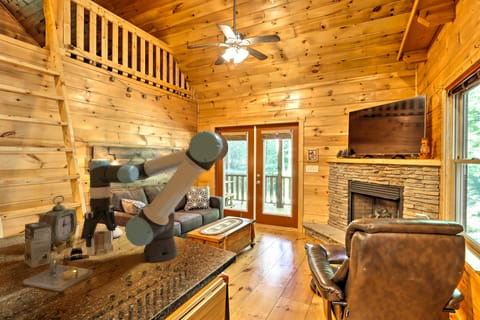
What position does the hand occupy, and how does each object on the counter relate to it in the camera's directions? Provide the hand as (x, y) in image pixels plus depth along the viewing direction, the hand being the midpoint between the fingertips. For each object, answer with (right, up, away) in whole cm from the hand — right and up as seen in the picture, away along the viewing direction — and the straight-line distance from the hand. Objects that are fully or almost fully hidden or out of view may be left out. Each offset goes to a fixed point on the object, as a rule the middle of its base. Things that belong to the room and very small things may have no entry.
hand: (100, 249), depth 104 cm
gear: (0, -1, 0) cm, 1 cm away
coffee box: (-26, -5, -1) cm, 26 cm away
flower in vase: (-13, -5, +33) cm, 35 cm away
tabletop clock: (-32, -5, +18) cm, 37 cm away
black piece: (-13, -6, +5) cm, 15 cm away
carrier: (-7, -6, -14) cm, 17 cm away
